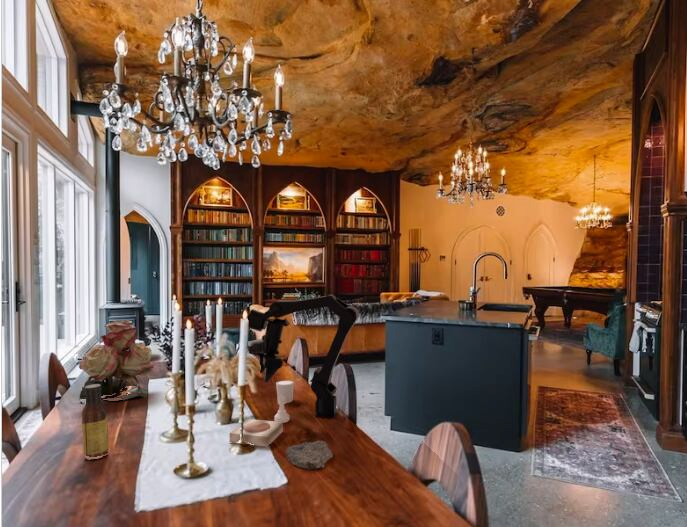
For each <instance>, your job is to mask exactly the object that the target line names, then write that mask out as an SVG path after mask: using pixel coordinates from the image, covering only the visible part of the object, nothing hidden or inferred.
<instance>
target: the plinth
mask: <svg viewBox="0 0 687 527" xmlns="http://www.w3.org/2000/svg"><path fill="white" fill-rule="evenodd" d="M283 432H284V423H283V422H276V421H275V420H263V419H252V418H250V419H249V418H247V419H246V420H245V421H244V439H245V441H247V442H249V443H251V444H254V445H258V446H257V447H261V446H265V447H264V448H268V447H269V446H270V445H271V444H272V443H273V442H274V441H275V440H276V439H277V438H278V437H279V436H280V435H281V434H282V433H283ZM239 440H240V425H238V426H236V427H235V428H234V429H233V430H232V431H230V432H229V443H230V442H232V443H231V444H233V443H236V442H238V441H239ZM269 444H270V445H269ZM268 445H269V446H268ZM267 446H268V447H267Z"/></svg>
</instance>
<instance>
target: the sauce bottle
mask: <svg viewBox="0 0 687 527" xmlns="http://www.w3.org/2000/svg"><path fill="white" fill-rule="evenodd" d="M85 393H86V404H85V403H84V407H83V409H82V410H81V429H82V446H83V447H82V448H83V456H84V455H86V456H89V457H97V456H102V455H105V454H107V453H108V454H109V452H108V451H109V448H110V445H109V426H108V424H109V423H108V412H107V408H106V406H105V405H104V401H102V400H101V385H100V384H93V385H88V386H86V387H85Z"/></svg>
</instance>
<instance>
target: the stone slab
mask: <svg viewBox="0 0 687 527" xmlns="http://www.w3.org/2000/svg"><path fill="white" fill-rule="evenodd" d="M285 452H286V455H287V456H286V460H287V461H288V462H289V463H290V464H292V465H293V466H296V467H298V468H302V469H305V470H308V471H309V470H311V471H312V470H316V469H324V468H325V466H326V465H325V464H326V463H327V462H328V461H329V460H331V459H332V458H333V455H334V454H333V451H332V449H330V447H329V444H328V443H327V441H325V440H319V439H318V440H316V441H313V442H308V441H304V442H302V443H300V444H298V443H297V444H294V445H291V446H288V447H286V450H285ZM330 458H331V459H330ZM327 460H328V461H327Z"/></svg>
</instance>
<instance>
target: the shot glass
mask: <svg viewBox="0 0 687 527" xmlns="http://www.w3.org/2000/svg"><path fill="white" fill-rule="evenodd" d="M294 384H295V381H293V380H279V381H276V382H275V386H276V396H277V399H278V395H280V394H284V395H285V396H286V400H285V402H286V404H288V403H292V402H293V398H294V386H295V385H294ZM278 402H279V401H278V400H277V403H278Z"/></svg>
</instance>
